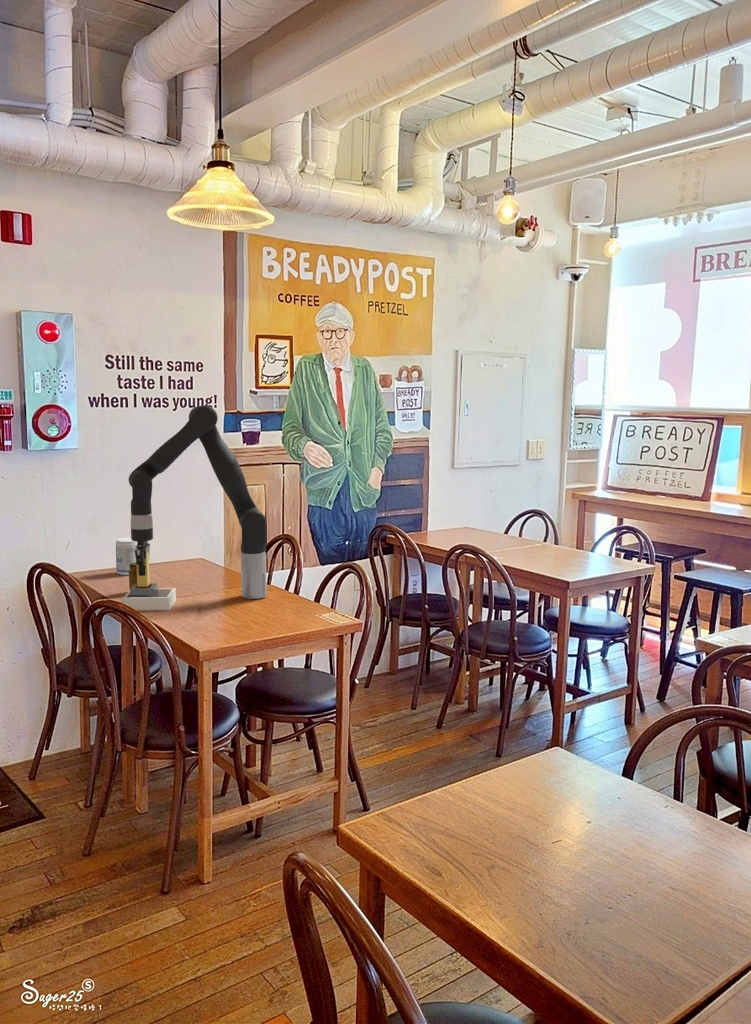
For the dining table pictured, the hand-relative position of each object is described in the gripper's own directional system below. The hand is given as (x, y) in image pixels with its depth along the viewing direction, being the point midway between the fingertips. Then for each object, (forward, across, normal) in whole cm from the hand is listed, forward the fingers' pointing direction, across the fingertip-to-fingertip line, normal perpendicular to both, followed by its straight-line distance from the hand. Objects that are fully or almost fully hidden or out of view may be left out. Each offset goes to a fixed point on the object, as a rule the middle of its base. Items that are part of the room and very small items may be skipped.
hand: (143, 574), depth 290 cm
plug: (+4, 0, 0) cm, 4 cm away
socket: (+11, 0, 0) cm, 11 cm away
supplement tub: (+12, +55, +18) cm, 59 cm away
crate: (+12, 0, -2) cm, 12 cm away
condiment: (+12, +18, +6) cm, 23 cm away
